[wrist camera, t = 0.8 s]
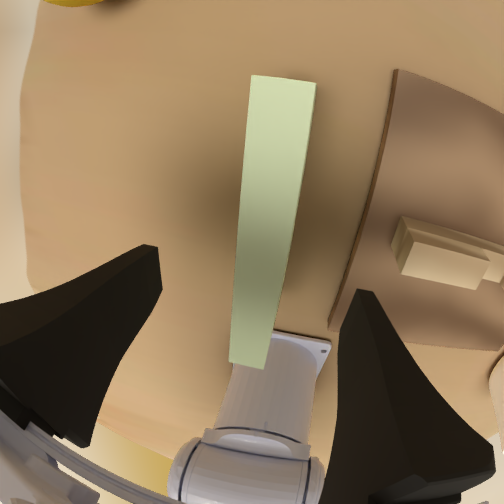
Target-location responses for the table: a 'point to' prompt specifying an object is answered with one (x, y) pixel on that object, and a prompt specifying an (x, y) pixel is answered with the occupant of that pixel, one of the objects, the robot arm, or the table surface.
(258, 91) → the slotted plate
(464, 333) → the base
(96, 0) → the lemon
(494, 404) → the cup
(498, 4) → the table surface
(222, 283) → the table surface
